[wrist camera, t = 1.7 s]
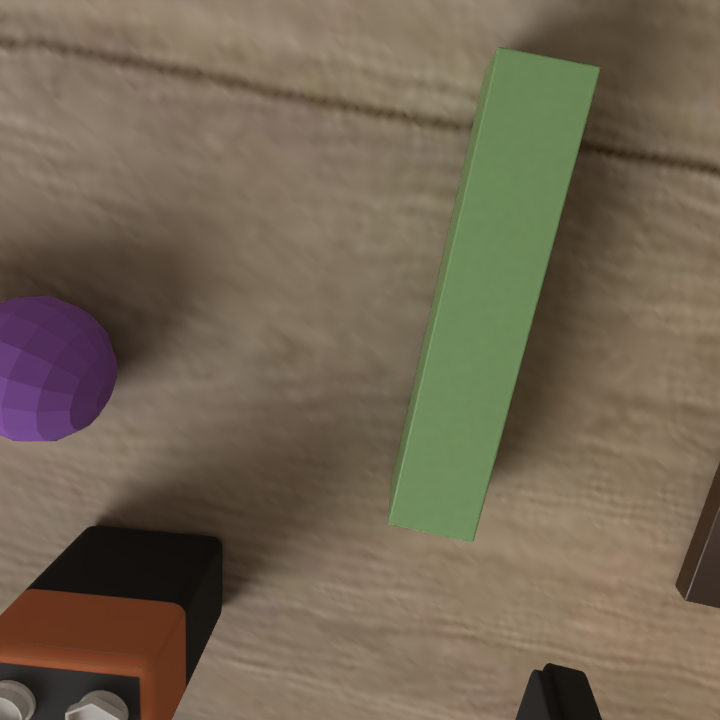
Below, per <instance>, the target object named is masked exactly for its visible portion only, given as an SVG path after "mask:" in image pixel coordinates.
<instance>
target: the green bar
mask: <svg viewBox="0 0 720 720" xmlns="http://www.w3.org/2000/svg"><path fill="white" fill-rule="evenodd" d="M600 70H601V69H600V67H599V66H594V65H589V64H584V63H579V62H574V61H569V60H564V59H558V58H553V57H548V56H543V55H538V54H533V53H528V52H523V51H518V50H513V49H508V48H503V47H499V48H498V49H497V51H496V53H495V54H494V56H493V58H492V60H491V61H490V63H489V65H488V67H487V68H486V70H485V74H484V79H483V83H482V88H481V92H480V96H479V101H478V105H477V109H476V114H475V118H474V123H473V127H472V131H471V136H470V140H469V144H468V149H467V153H466V157H465V162H464V166H463V171H462V175H461V179H460V184H459V188H458V192H457V197H456V201H455V206H454V210H453V214H452V219H451V223H450V227H449V232H448V236H447V241H446V245H445V249H444V254H443V258H442V262H441V267H440V271H439V275H438V280H437V284H436V289H435V293H434V297H433V302H432V306H431V310H430V315H429V319H428V324H427V328H426V332H425V337H424V341H423V345H422V350H421V354H420V359H419V363H418V367H417V372H416V376H415V380H414V385H413V389H412V394H411V398H410V402H409V407H408V411H407V415H406V420H405V424H404V428H403V433H402V437H401V442H400V446H399V450H398V455H397V459H396V463H395V468H394V472H393V477H392V481H391V491H390V504H389V516H388V523H389V524H390V525H395V526H400V527H404V528H409V529H413V530H418V531H422V532H427V533H431V534H436V535H441V536H445V537H450V538H454V539H459V540H463V541H468V542H473V541H474V537H475V534H476V530H477V526H478V523H479V519H480V515H481V511H482V508H483V504H484V500H485V497H486V493H487V489H488V485H489V482H490V478H491V474H492V471H493V467H494V463H495V459H496V456H497V452H498V448H499V445H500V441H501V437H502V433H503V430H504V426H505V422H506V419H507V415H508V411H509V408H510V404H511V400H512V396H513V393H514V389H515V385H516V382H517V378H518V374H519V370H520V367H521V363H522V359H523V356H524V352H525V348H526V344H527V341H528V337H529V333H530V330H531V326H532V322H533V318H534V315H535V311H536V307H537V304H538V300H539V296H540V293H541V289H542V285H543V281H544V278H545V274H546V270H547V267H548V263H549V259H550V255H551V252H552V248H553V244H554V241H555V237H556V233H557V229H558V226H559V222H560V218H561V215H562V211H563V207H564V204H565V200H566V196H567V192H568V189H569V185H570V181H571V178H572V174H573V170H574V166H575V163H576V159H577V155H578V152H579V148H580V144H581V140H582V137H583V133H584V129H585V126H586V122H587V118H588V114H589V111H590V107H591V103H592V100H593V96H594V92H595V89H596V85H597V81H598V77H599V74H600Z"/></svg>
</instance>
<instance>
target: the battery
mask: <svg viewBox="0 0 720 720" xmlns="http://www.w3.org/2000/svg"><path fill="white" fill-rule="evenodd" d="M221 609H222V544H221V541H220V540H219V539H217V538H215V537H209V536H199V535H188V534H177V533H166V532H156V531H145V530H134V529H123V528H113V527H101V526H91V527H88V528H87V529H86V530H84V531H83V532H82V533H81V534H80V535H79V536H78V537H77V538H76V539H75V540H74V541H73V542H72V543H71V545H70V546H69V547H68V548H67V549H66V550H65V551H64V552H63V553H62V554H61V555H60V556H59V557H58V558H57V559H56V560H55V561H54V562H53V563H52V564H51V565H50V566H49V567H48V568H47V569H46V570H45V571H44V572H43V573H42V574H41V575H40V576H39V577H38V578H37V579H36V580H35V581H34V582H33V583H32V584H31V585H30V586H29V587H28V588H27V589H26V590H25V591H24V592H23V593H22V594H21V595H20V596H19V597H18V598H17V599H16V600H15V601H14V602H13V603H12V604H11V605H10V606H9V607H8V608H7V609H6V610H5V611H4V612H3V613H2V614H1V615H0V720H172V718H173V715H174V713H175V711H176V709H177V707H178V705H179V703H180V700H181V698H182V696H183V694H184V692H185V690H186V687H187V685H188V683H189V681H190V679H191V677H192V674H193V672H194V670H195V668H196V666H197V664H198V662H199V659H200V657H201V655H202V653H203V651H204V649H205V646H206V644H207V642H208V640H209V638H210V636H211V634H212V631H213V629H214V627H215V625H216V623H217V621H218V618H219V616H220V614H221Z"/></svg>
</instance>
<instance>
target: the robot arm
mask: <svg viewBox="0 0 720 720" xmlns="http://www.w3.org/2000/svg"><path fill="white" fill-rule="evenodd" d="M516 720H602V718H601V716H600V713H599V710H598V707H597V704H596V702H595V699H594V696H593V693H592V690H591V688H590V685H589V682H588V679H587V677H586V675H585V673H584V672H582V671H579V670H575V669H571V668H567V667H563V666H559V665H555V664H551V663H549V664H546V666H545V667H544V669H543V671H540V670H534V671H533V672H532V673H531V676H530V678H529V681H528V684H527V687H526V690H525V693H524V696H523V699H522V702H521V705H520V708H519V711H518V714H517V717H516Z"/></svg>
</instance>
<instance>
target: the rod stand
mask: <svg viewBox="0 0 720 720" xmlns="http://www.w3.org/2000/svg"><path fill="white" fill-rule="evenodd" d="M676 588H677V589H678V591H679V592H680V594H681V595H682V597H683V598H684V600H686V601H689V602H694V603H698V604H703V605H707V606H712V607H717V608H720V464H719V466H718V469H717V472H716V475H715V477H714V480H713V483H712V486H711V488H710V491H709V494H708V497H707V499H706V502H705V505H704V508H703V511H702V513H701V516H700V519H699V522H698V524H697V527H696V530H695V533H694V535H693V538H692V541H691V544H690V546H689V549H688V552H687V555H686V557H685V560H684V563H683V566H682V568H681V571H680V574H679V577H678V579H677V582H676Z"/></svg>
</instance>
